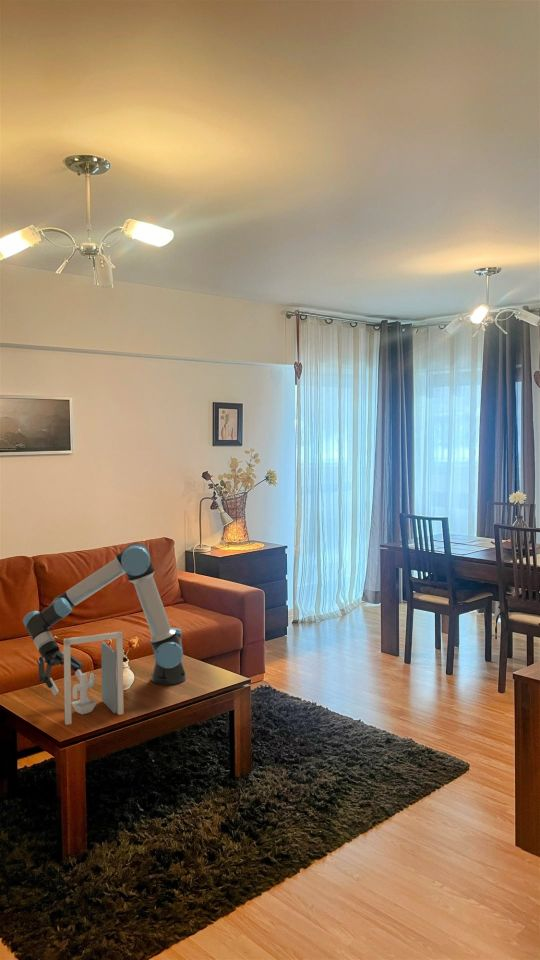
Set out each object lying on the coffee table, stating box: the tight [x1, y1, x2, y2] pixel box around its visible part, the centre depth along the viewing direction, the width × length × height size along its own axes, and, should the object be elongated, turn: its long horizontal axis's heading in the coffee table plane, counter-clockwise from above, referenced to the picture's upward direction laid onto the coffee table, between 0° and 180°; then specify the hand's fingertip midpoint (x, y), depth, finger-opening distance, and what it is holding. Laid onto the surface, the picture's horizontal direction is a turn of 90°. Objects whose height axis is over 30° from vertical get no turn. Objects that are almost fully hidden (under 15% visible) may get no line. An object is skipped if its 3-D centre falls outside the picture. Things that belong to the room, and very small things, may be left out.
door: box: [100, 641, 117, 714], centre depth 276 cm, size 16×3×24 cm, turn 29°
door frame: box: [63, 631, 125, 726], centre depth 264 cm, size 22×2×32 cm, turn 119°
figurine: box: [71, 672, 98, 716], centre depth 272 cm, size 7×9×15 cm
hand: (70, 688), depth 275 cm, fingers open, 13 cm apart
